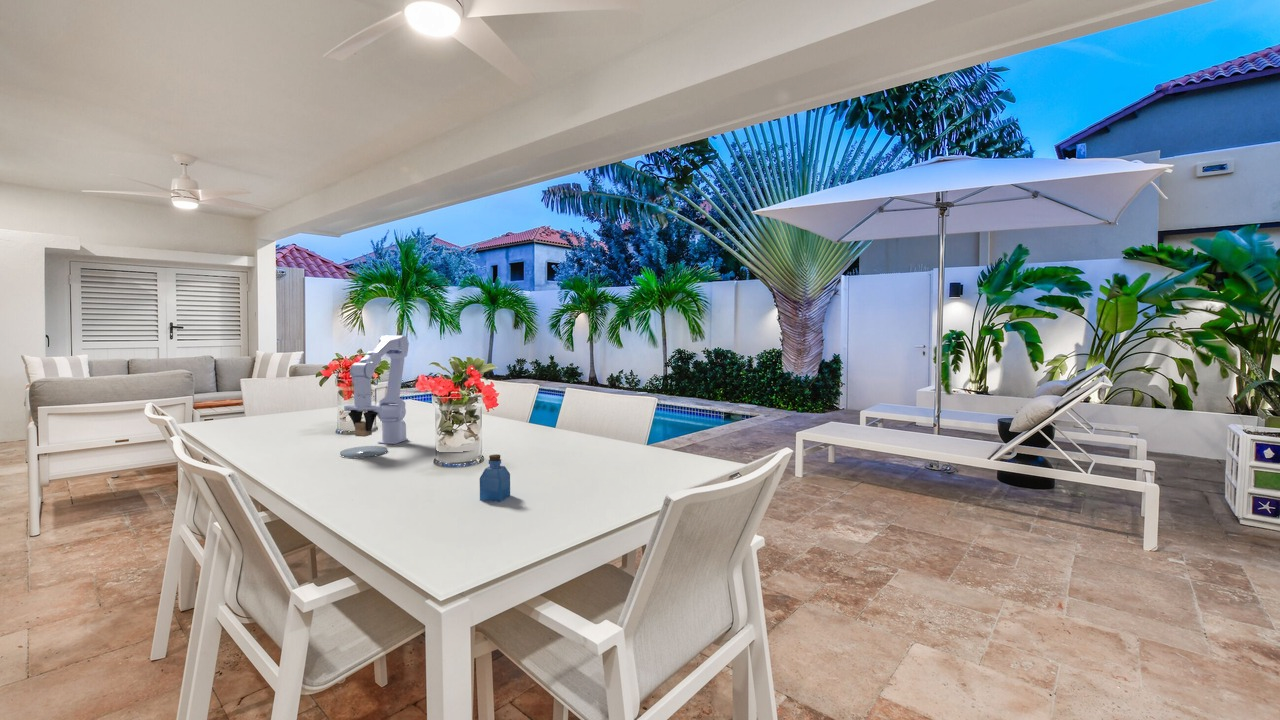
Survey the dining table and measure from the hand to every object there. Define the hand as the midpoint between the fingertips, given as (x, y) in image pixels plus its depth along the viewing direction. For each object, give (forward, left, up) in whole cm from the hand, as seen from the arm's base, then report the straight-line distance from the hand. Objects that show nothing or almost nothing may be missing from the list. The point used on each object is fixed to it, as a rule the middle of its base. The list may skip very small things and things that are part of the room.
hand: (363, 430), depth 210 cm
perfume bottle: (+41, +72, -9) cm, 83 cm away
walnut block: (0, 0, -2) cm, 2 cm away
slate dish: (0, 0, -9) cm, 9 cm away
